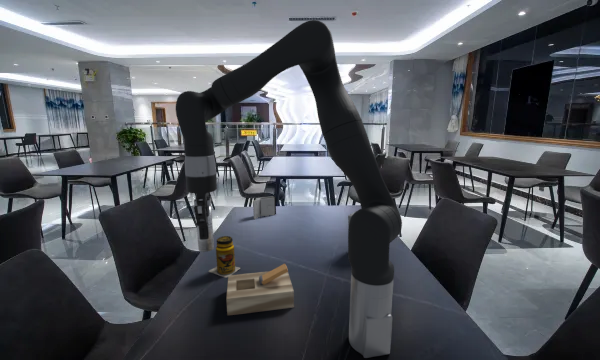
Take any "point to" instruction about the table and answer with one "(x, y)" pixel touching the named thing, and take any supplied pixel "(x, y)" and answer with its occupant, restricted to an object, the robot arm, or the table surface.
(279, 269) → the latch arm
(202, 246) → the steel peg
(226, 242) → the condiment
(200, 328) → the table surface
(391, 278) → the robot arm
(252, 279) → the birch block
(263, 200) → the hinge
